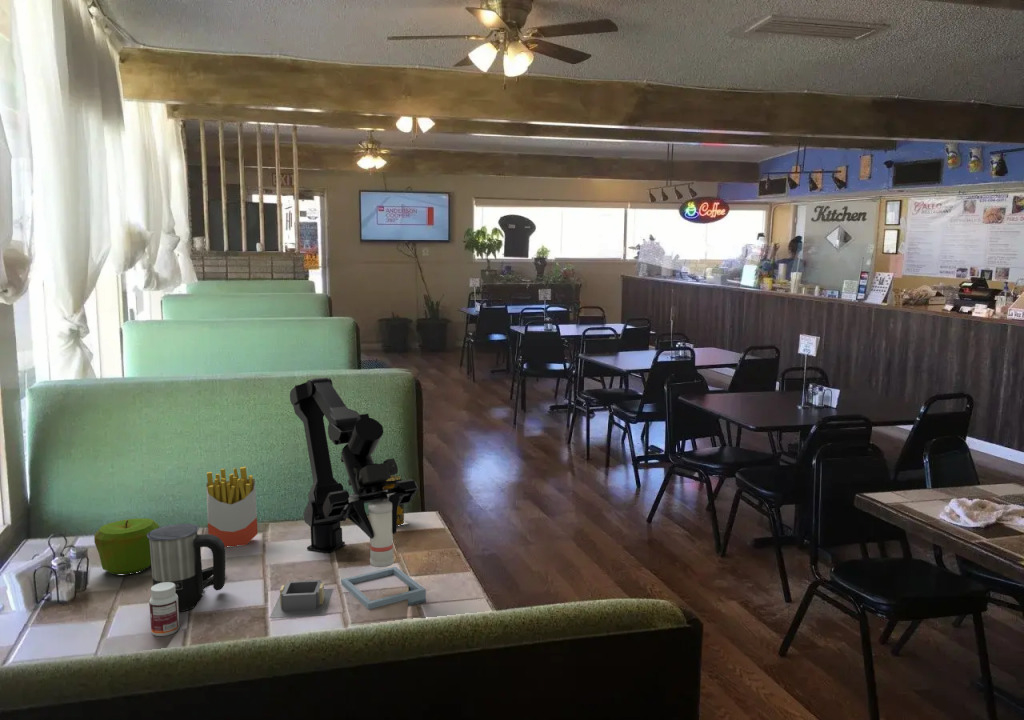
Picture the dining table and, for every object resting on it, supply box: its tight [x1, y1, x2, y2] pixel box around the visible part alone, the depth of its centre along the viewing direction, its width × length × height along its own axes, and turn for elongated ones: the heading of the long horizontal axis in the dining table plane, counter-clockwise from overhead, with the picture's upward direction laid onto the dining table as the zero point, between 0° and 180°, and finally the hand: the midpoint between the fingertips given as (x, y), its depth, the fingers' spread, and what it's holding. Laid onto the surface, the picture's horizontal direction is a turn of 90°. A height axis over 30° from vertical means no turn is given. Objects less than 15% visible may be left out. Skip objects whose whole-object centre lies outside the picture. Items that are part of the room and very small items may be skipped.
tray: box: [340, 566, 427, 610], centre depth 153 cm, size 14×12×2 cm
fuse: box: [368, 501, 395, 568], centre depth 152 cm, size 5×5×12 cm
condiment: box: [381, 475, 405, 526], centre depth 197 cm, size 7×8×12 cm
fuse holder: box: [269, 579, 334, 619], centre depth 147 cm, size 12×10×5 cm
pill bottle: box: [148, 582, 181, 637], centre depth 139 cm, size 5×5×8 cm
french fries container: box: [205, 466, 258, 548], centre depth 183 cm, size 5×11×18 cm, turn 109°
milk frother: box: [147, 523, 226, 613], centre depth 154 cm, size 14×16×15 cm
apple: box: [93, 517, 160, 575], centre depth 167 cm, size 12×12×11 cm
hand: (383, 535), depth 151 cm, fingers closed on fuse, 4 cm apart
